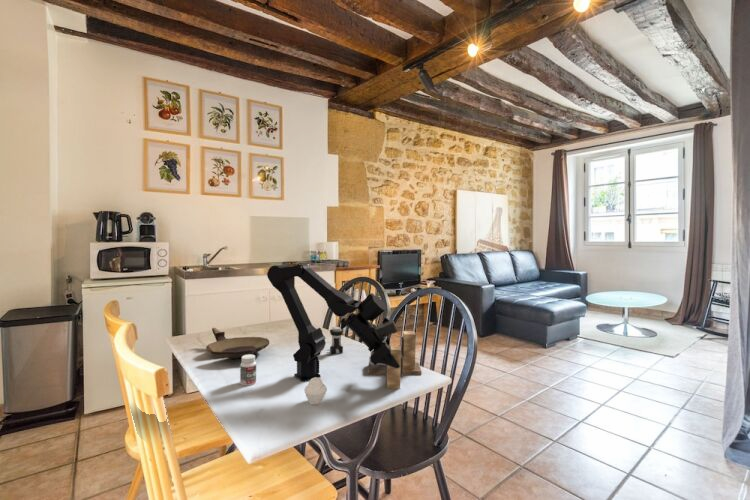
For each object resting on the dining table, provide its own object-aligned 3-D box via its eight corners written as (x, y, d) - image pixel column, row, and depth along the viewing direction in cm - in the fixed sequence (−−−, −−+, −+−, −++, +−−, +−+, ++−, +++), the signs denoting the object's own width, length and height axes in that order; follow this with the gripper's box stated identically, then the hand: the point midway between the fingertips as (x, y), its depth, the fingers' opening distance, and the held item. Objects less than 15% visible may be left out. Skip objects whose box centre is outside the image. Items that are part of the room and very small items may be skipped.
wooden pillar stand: (368, 373, 120) (369, 335, 119) (368, 365, 128) (369, 329, 127) (421, 374, 120) (422, 336, 119) (418, 365, 128) (419, 329, 127)
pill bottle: (248, 387, 108) (248, 360, 108) (236, 384, 110) (236, 357, 110) (259, 381, 112) (259, 355, 112) (248, 378, 114) (248, 353, 114)
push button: (328, 356, 136) (329, 330, 136) (324, 352, 141) (324, 327, 141) (344, 354, 139) (345, 328, 139) (340, 349, 144) (340, 325, 144)
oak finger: (387, 388, 109) (387, 349, 108) (386, 382, 113) (387, 345, 112) (402, 388, 109) (402, 350, 108) (401, 383, 113) (401, 345, 112)
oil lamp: (211, 371, 119) (211, 349, 119) (201, 347, 145) (201, 328, 144) (277, 360, 131) (277, 339, 131) (256, 339, 157) (257, 322, 156)
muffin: (327, 396, 102) (328, 373, 102) (325, 407, 96) (325, 382, 96) (306, 396, 102) (306, 373, 102) (302, 407, 96) (302, 381, 96)
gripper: (382, 318, 101) (420, 357, 101) (381, 305, 119) (413, 338, 120) (354, 345, 101) (392, 384, 101) (357, 328, 120) (389, 360, 120)
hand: (398, 364), depth 111 cm, fingers closed on oak finger, 4 cm apart
